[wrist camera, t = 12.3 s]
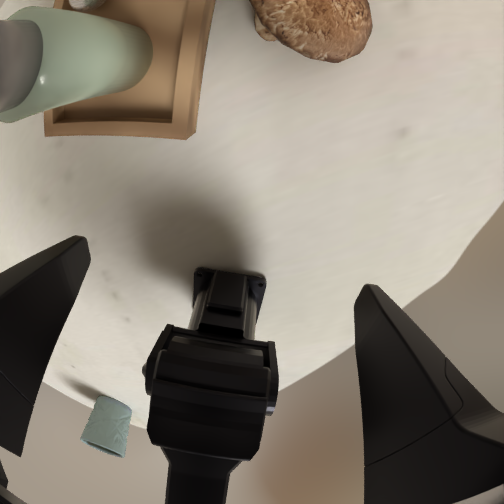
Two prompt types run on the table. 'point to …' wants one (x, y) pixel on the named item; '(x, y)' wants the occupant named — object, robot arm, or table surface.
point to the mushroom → (316, 26)
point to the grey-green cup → (108, 426)
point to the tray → (147, 75)
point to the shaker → (66, 59)
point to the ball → (85, 4)
